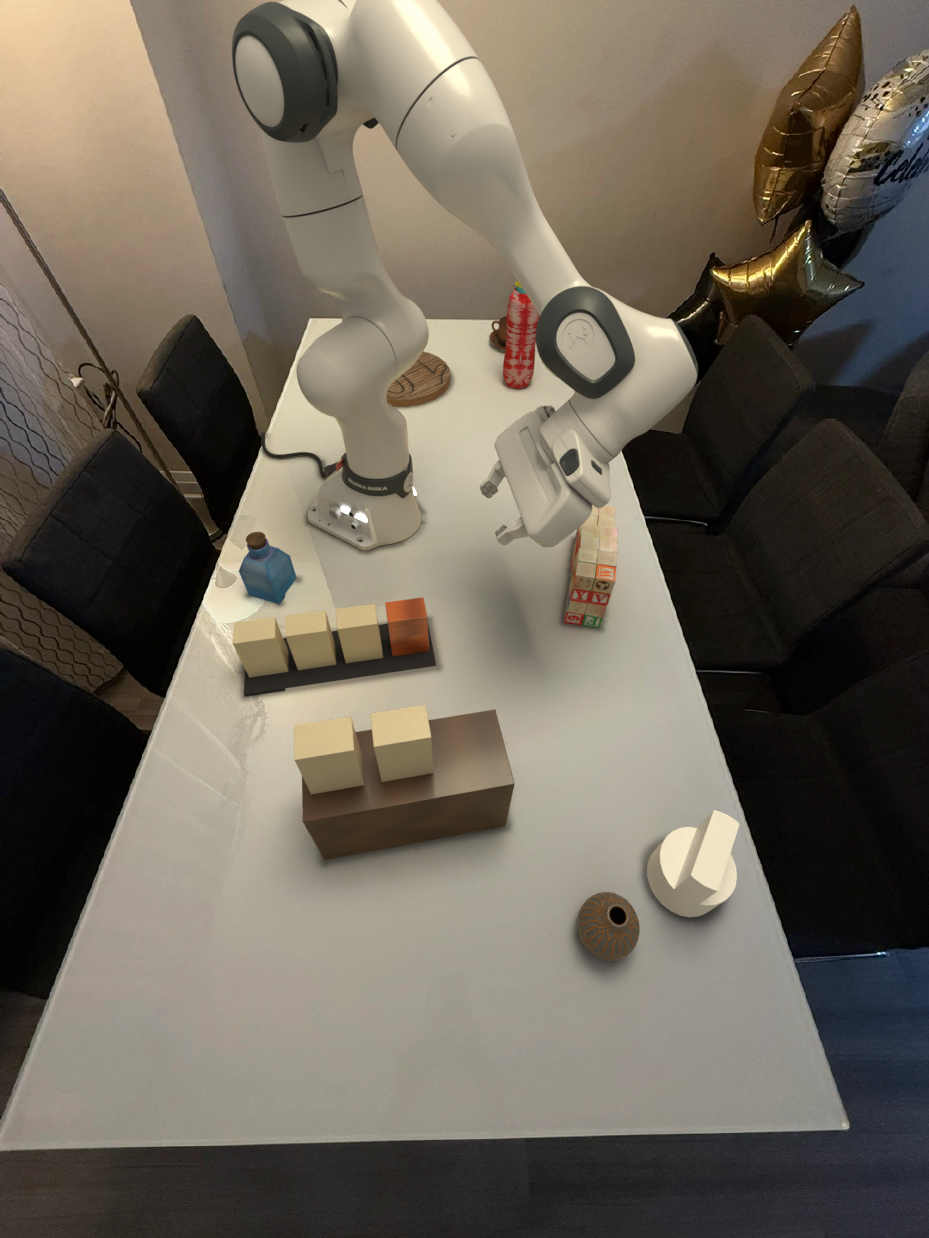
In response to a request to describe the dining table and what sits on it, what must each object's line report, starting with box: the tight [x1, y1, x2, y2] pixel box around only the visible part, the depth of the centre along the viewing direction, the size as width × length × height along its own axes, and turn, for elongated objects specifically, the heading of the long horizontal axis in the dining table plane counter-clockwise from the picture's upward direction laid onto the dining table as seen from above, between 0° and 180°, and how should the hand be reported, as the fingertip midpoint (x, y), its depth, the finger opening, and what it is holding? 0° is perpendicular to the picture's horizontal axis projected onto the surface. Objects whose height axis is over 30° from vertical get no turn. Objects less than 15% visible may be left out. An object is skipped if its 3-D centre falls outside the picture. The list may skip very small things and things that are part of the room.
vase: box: [576, 891, 641, 962], centre depth 66 cm, size 7×7×9 cm
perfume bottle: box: [238, 531, 298, 605], centre depth 99 cm, size 6×6×12 cm
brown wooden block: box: [293, 704, 515, 861], centre depth 70 cm, size 24×10×23 cm, turn 101°
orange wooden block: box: [384, 596, 429, 656], centre depth 92 cm, size 6×4×9 cm, turn 101°
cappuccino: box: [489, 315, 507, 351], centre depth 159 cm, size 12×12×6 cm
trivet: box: [386, 350, 451, 408], centre depth 148 cm, size 25×25×2 cm
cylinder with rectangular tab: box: [646, 809, 741, 918], centre depth 69 cm, size 9×9×12 cm
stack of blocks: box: [563, 505, 619, 629], centre depth 101 cm, size 21×6×12 cm, turn 168°
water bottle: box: [502, 279, 540, 390], centre depth 140 cm, size 12×8×25 cm, turn 177°
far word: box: [232, 603, 437, 697], centre depth 91 cm, size 30×10×10 cm, turn 101°
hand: (491, 515), depth 77 cm, fingers open, 8 cm apart
